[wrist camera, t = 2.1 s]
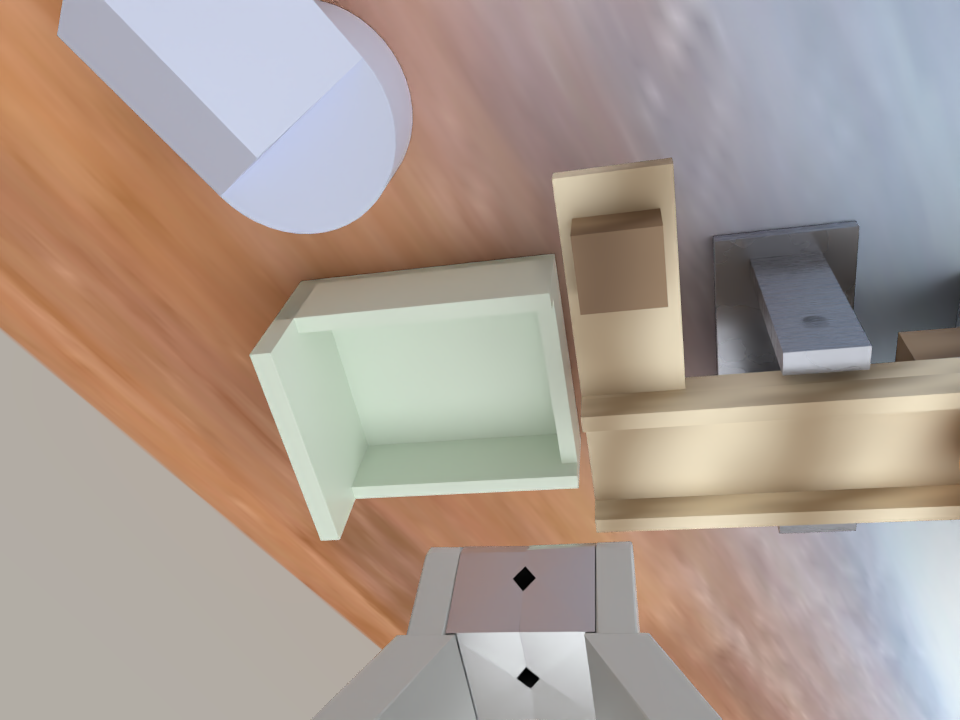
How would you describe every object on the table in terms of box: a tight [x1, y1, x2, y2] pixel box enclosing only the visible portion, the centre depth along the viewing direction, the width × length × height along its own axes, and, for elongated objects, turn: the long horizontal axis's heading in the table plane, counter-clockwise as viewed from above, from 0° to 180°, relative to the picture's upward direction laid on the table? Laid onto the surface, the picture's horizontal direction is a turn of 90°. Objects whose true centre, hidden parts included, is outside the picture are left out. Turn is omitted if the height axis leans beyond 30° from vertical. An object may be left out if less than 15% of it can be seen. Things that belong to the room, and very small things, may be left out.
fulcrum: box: [713, 221, 960, 533], centre depth 34 cm, size 12×11×9 cm
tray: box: [250, 254, 581, 540], centre depth 39 cm, size 13×11×7 cm
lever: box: [552, 158, 960, 532], centre depth 29 cm, size 18×15×6 cm
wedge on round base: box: [57, 0, 413, 234], centre depth 32 cm, size 9×7×13 cm
